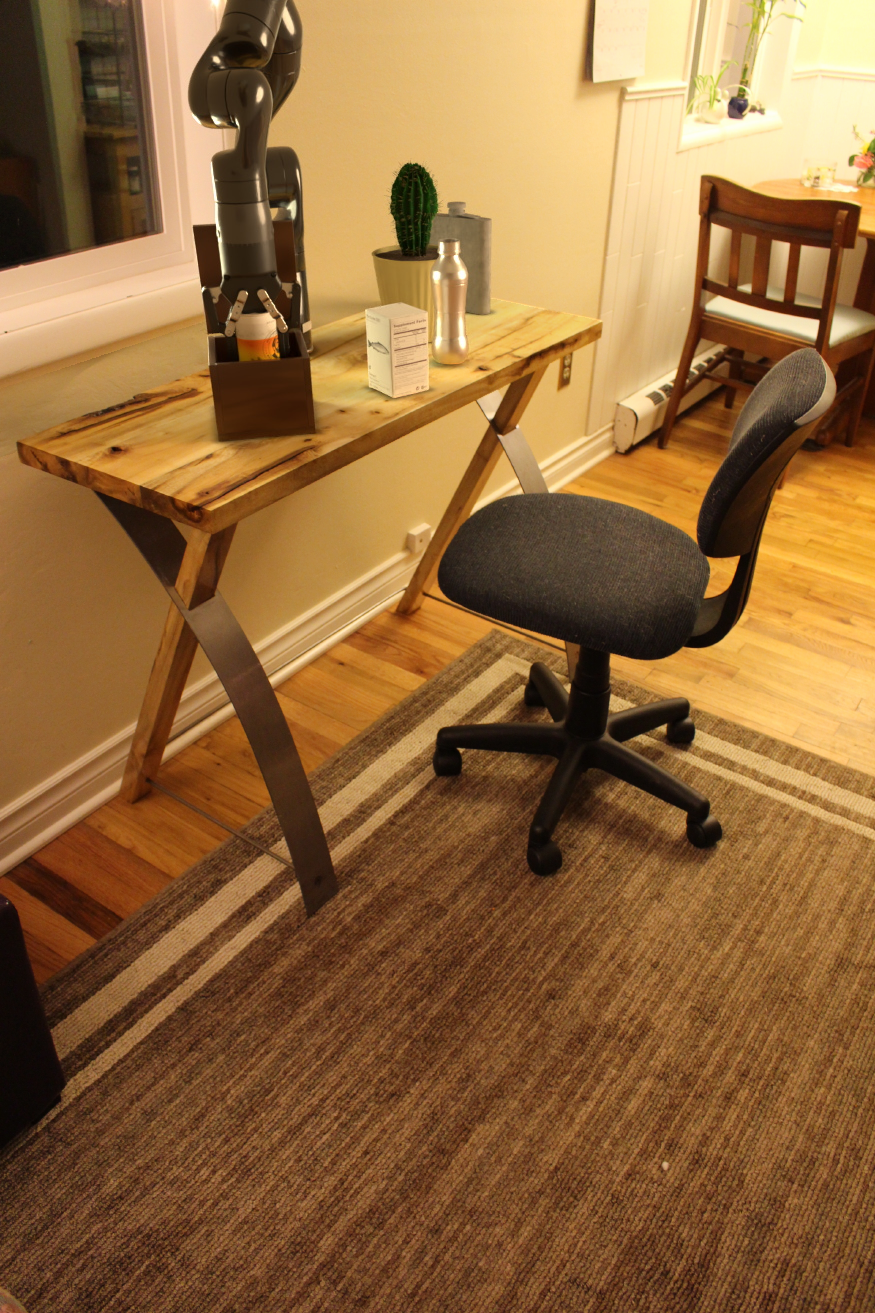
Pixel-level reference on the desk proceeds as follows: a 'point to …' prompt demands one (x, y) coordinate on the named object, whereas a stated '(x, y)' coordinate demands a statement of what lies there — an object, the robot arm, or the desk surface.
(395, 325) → the white packaging box
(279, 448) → the desk surface
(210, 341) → the chest
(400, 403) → the desk surface
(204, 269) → the lid
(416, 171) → the potted cactus
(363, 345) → the desk surface
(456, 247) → the metal water bottle
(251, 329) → the beer can
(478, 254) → the hip flask
